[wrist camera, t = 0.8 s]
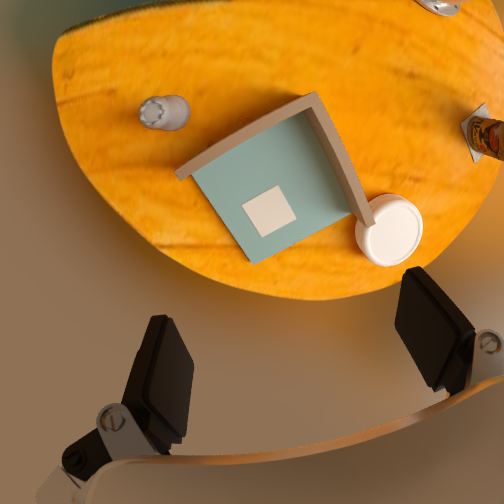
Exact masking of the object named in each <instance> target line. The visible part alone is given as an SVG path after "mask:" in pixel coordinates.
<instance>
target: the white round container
mask: <svg viewBox="0 0 504 504" xmlns="http://www.w3.org/2000/svg"><path fill="white" fill-rule="evenodd" d="M368 204H369V206H370V209H371V212H372V214H373V217H374V220H375V223H376V224H375V225H373V226H371V227H369V228H366V227H365V226H364V225H363V224H362V223H361V222H360V221H359V220H358V219H357V222H356V226H355V237H356V241H357V244H358V246H359V248H360V249H361V250H362V252H363V253H364V254H365V256H366V257H367V258H368V259H369V260H370V261H371V262H372V263H374V264H376V265H379V266H393V265H396V264H398V263H400V262H402V261H404V260H405V259H406V258H408V257H409V256H410V255H411V254H412V253H413V251H414V250H415V249H416V247H417V245H418V243H419V241H420V238H421V235H422V229H423V224H422V218H421V215H420V213H419V211H418V209H417V208H416V207H415V206H414V204H412V203H411V202H409V201H408V200H406V199H404V198H403V197H401V196H399V195H396V194H383V195H380V196H377V197H375V198H374V199H372V200H371V201H370V202H369V203H368Z"/></svg>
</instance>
